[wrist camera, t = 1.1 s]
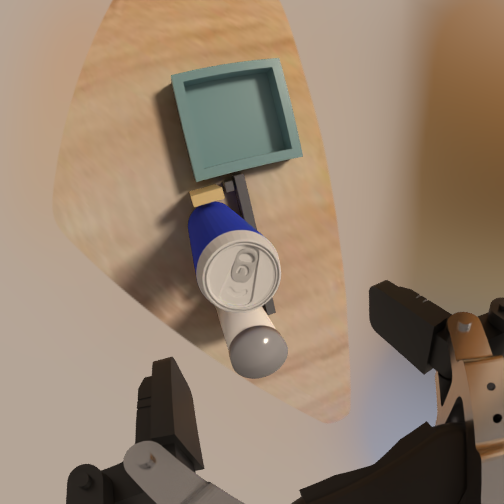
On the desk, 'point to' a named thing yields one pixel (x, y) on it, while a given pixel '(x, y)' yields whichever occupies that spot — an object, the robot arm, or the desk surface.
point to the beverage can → (232, 259)
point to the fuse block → (216, 193)
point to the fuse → (252, 342)
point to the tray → (236, 117)
